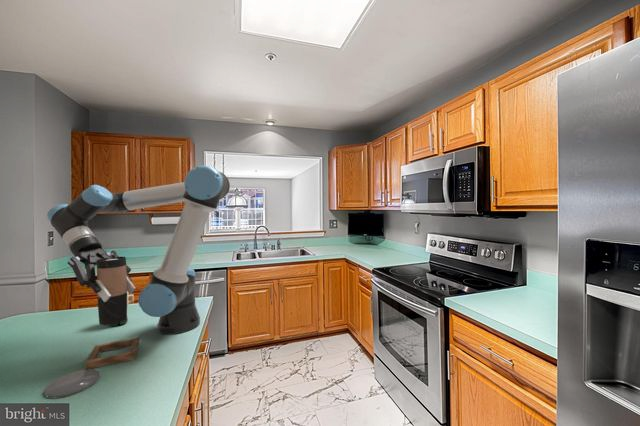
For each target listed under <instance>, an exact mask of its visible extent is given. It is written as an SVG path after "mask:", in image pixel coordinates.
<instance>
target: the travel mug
mask: <svg viewBox="0 0 640 426" xmlns="http://www.w3.org/2000/svg"><path fill="white" fill-rule="evenodd" d="M126 259H127V258H126V256H119V257H117V258H115V259H109V258H102V259H98V260H97V265H96V281H97V280H100V281H101V282H102V284H103V285H104V286H105V288H106V289H107V290H108V292H109V293H110V295H111V296H110V298H109V299H108V300H107V301H106V302H104V301H103V300H102V298H101V297H100V296H99V294H98V293H96V295H97V309H98V312H97V313H98V323H99V325H101V326H110V325H111V324H115V323H118V324H120V323H119V322H122V321H124V320H125V319H126V318H127V319H128V306H127V274H126V265H127V260H126Z"/></svg>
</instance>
